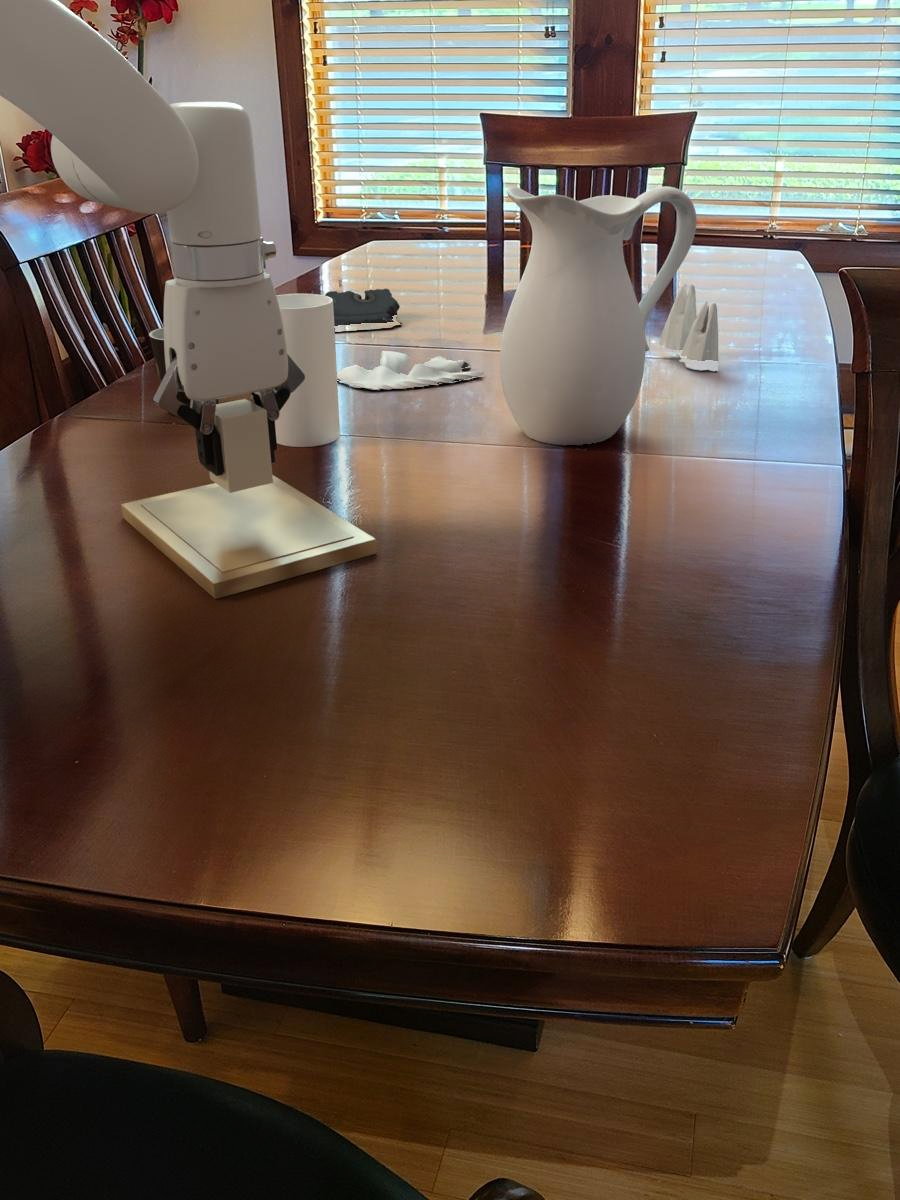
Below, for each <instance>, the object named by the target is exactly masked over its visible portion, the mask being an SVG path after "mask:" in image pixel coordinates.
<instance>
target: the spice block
mask: <svg viewBox="0 0 900 1200" xmlns="http://www.w3.org/2000/svg"><path fill="white" fill-rule="evenodd" d="M214 428H215V431H216V432H217V433H219V435H220V439H221V448H222V457H223V466H224V473H223V475H219V476H216V475H215V474H213V473H212V472H210V471H209V470H208V472H209V479H210V481H212V482H214V483H216V484H218V485H219V486H221V487H222V488H224V489H225V490H226V491H228V492H229V493H232V492H236V491H240V490H245V489H249V488H253V487H257V486H261V485H266V484H270V483H273V477H272V475H273V466H272V464H271V454H270V443H269V432H268V421H267V411H266V410H265V409H263V408H261V407H260V406H258V405H256V404H254V403H252V401H250V400H248V399H247V398H242V399H238V400H237V399H236V400H233V401H227V402H222V403H219V404H216V411H215V420H214Z"/></svg>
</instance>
